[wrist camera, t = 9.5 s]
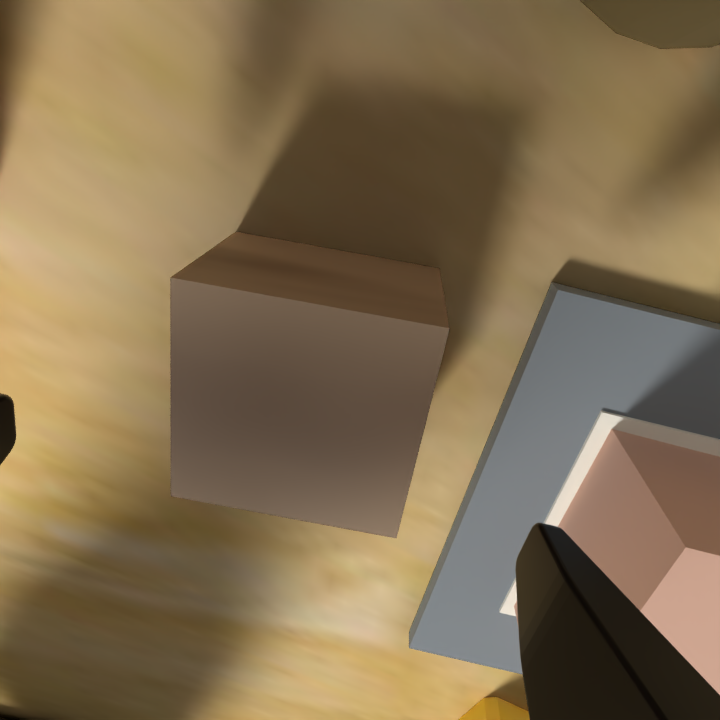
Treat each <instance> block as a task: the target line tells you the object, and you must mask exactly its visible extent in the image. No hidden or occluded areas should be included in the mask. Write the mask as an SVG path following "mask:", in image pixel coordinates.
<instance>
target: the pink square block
mask: <svg viewBox="0 0 720 720" xmlns="http://www.w3.org/2000/svg"><path fill="white" fill-rule="evenodd" d="M558 527H560V528H561V529H562V530H564V531H565V532H566V534H567V535H568V536H569V537H570V538H571V539H572V540H573V541H574V542H575V543H576V544H577V545H578V546H579V547H580V548H581V549H582V550H583V551H584V552H585V554H586V555H587V556H588V557H589V558H590V559H591V560H592V561H593V562H594V563H595V564H596V565H597V566H598V567H599V568H600V569H601V570H602V571H603V572H604V574H605V575H606V576H607V577H608V578H609V579H610V580H611V581H612V582H613V583H614V584H615V585H616V586H617V587H618V588H619V589H620V590H621V591H622V592H623V594H624V595H625V596H626V597H627V598H628V599H629V600H630V601H631V602H632V603H633V604H634V605H635V606H636V607H637V608H638V609H639V610H640V611H641V612H642V614H643V615H644V616H645V617H646V618H647V619H648V620H649V621H650V622H651V623H652V624H653V625H654V626H655V627H656V628H657V629H658V630H659V631H660V632H661V634H662V635H663V636H664V637H665V638H666V639H667V640H668V641H669V642H670V643H671V644H672V645H673V646H674V647H675V648H676V649H677V650H678V651H679V652H680V654H681V655H682V656H683V657H684V658H685V659H686V660H687V661H688V662H689V663H690V664H691V665H692V666H693V667H694V668H695V669H696V670H697V671H698V672H699V674H700V675H701V676H702V677H703V678H704V679H705V680H706V681H707V682H708V683H709V684H710V685H711V686H712V687H713V688H714V689H715V690H716V691H717V692H718V694H719V695H720V457H719V456H715V455H711V454H707V453H703V452H699V451H695V450H692V449H688V448H684V447H680V446H676V445H672V444H668V443H664V442H661V441H657V440H653V439H649V438H645V437H641V436H637V435H633V434H630V433H626V432H622V431H618V430H614V429H611V431H610V433H609V434H608V436H607V438H606V440H605V442H604V444H603V445H602V447H601V449H600V451H599V453H598V454H597V456H596V458H595V460H594V462H593V464H592V465H591V467H590V469H589V471H588V473H587V474H586V476H585V478H584V480H583V482H582V483H581V485H580V487H579V489H578V491H577V493H576V494H575V496H574V498H573V500H572V502H571V503H570V505H569V507H568V509H567V511H566V513H565V514H564V516H563V518H562V520H561V522H560V523H559V525H558ZM514 609H515V614H516V618H517V623H518V611H517V601H516V603H515V605H514Z"/></svg>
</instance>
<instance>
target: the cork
mask: <svg viewBox="0 0 720 720" xmlns="http://www.w3.org/2000/svg"><path fill="white" fill-rule="evenodd" d="M580 1H581V2H583V3H584V4H585V5H586V6H587V7H588V8H589V9H590V10H591V11H592V12H594V13H595V14H596V15H597V16H598V17H599V18H600V19H601V20H602V21H603V22H605V23H606V24H607V25H608V26H609V27H610V28H611V29H612V30H613V31H615V32H616V33H618V34H620V35H623V36H626V37H629V38H632V39H634V40H637V41H640V42H643V43H646V44H649V45H651V46H654V47H657V48H660V49H669V48H702V47H713V46H716V45H719V44H720V0H580Z"/></svg>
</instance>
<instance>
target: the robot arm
mask: <svg viewBox="0 0 720 720" xmlns="http://www.w3.org/2000/svg"><path fill="white" fill-rule="evenodd" d="M15 440H16V426H15V414H14V403H13V400H12V398H11V397H9V396H8V395H5V394H1V393H0V465H1V463H2V462H3V461H4V459H5V458H6V457H7V455H8V454H9V453H10V451H11V450H12V448H13V446H14V444H15ZM515 572H516V592H517V611H518V631H519V648H520V659H521V667H522V674H523V680H524V686H525V693H526V699H527V705H528V711H529V718H530V720H720V695H719V694H718V692H717V691H716V690H715V689H714V688H713V687H712V686H711V685H710V684H709V683H708V682H707V681H706V680H705V679H704V678H703V677H702V676H701V675H700V674H699V672H698V671H697V670H696V669H695V668H694V667H693V666H692V665H691V664H690V663H689V662H688V661H687V660H686V659H685V658H684V657H683V656H682V655H681V654H680V652H679V651H678V650H677V649H676V648H675V647H674V646H673V645H672V644H671V643H670V642H669V641H668V640H667V639H666V638H665V637H664V636H663V635H662V634H661V632H660V631H659V630H658V629H657V628H656V627H655V626H654V625H653V624H652V623H651V622H650V621H649V620H648V619H647V618H646V617H645V616H644V615H643V614H642V612H641V611H640V610H639V609H638V608H637V607H636V606H635V605H634V604H633V603H632V602H631V601H630V600H629V599H628V598H627V597H626V596H625V595H624V594H623V592H622V591H621V590H620V589H619V588H618V587H617V586H616V585H615V584H614V583H613V582H612V581H611V580H610V579H609V578H608V577H607V576H606V575H605V574H604V572H603V571H602V570H601V569H600V568H599V567H598V566H597V565H596V564H595V563H594V562H593V561H592V560H591V559H590V558H589V557H588V556H587V555H586V554H585V552H584V551H583V550H582V549H581V548H580V547H579V546H578V545H577V544H576V543H575V542H574V541H573V540H572V539H571V538H570V537H569V536H568V535H567V534H566V532H565V531H564V530H562V529H561V528H560V527H557V526H553V525H549V524H545V523H540V522H539V523H536V524H534V525H533V527H532V528H531V530H530V532H529V534H528V536H527V538H526V540H525V542H524V544H523V546H522V548H521V550H520V552H519V554H518V557H517V560H516V567H515ZM0 720H7V719H3V718H0Z"/></svg>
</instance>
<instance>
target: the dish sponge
mask: <svg viewBox="0 0 720 720" xmlns="http://www.w3.org/2000/svg"><path fill="white" fill-rule="evenodd" d="M458 720H530V718H529V712H528V711H526V710H524V709H522V708H520V707H518V706H515V705H513V704H511V703H509V702H507V701H505V700H502V699H500V698H498V697H490V698H483V699H482V700H481V701H480V702H479V703H477V704H476V705H475V706H474V707H473V708H471V709H470V710H469V711H468V712H467V713H466V714H464V715H463V716H462V717H461V718H460V719H458Z"/></svg>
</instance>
